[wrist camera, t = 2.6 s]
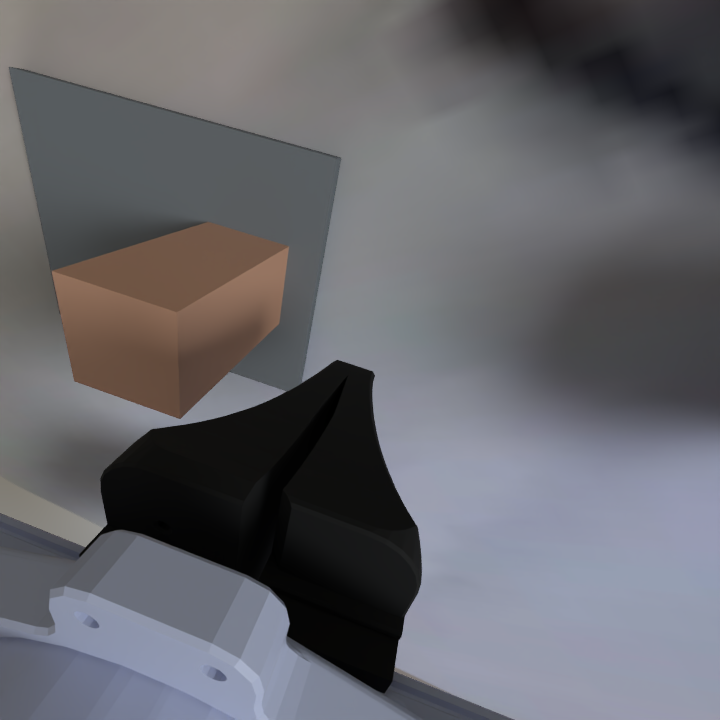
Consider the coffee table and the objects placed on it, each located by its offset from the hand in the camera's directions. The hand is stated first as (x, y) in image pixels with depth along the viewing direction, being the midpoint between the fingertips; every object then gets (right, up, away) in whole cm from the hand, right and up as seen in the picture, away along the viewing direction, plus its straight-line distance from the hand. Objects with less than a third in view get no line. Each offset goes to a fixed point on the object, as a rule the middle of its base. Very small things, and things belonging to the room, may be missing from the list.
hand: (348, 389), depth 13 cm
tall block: (-5, +5, +6) cm, 9 cm away
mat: (-9, +7, +7) cm, 13 cm away
